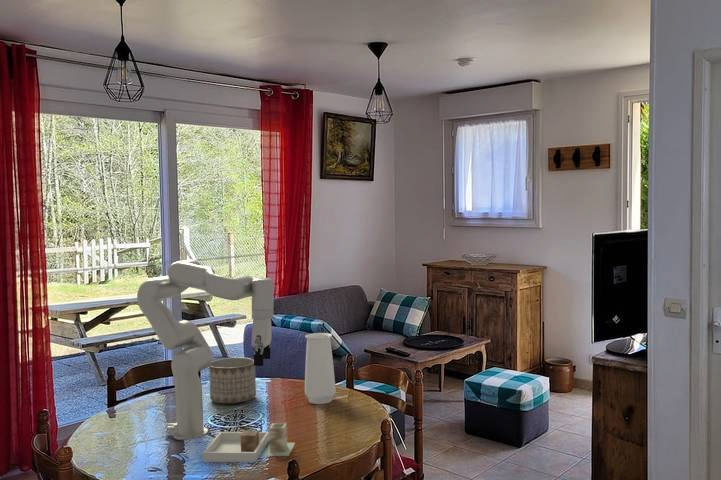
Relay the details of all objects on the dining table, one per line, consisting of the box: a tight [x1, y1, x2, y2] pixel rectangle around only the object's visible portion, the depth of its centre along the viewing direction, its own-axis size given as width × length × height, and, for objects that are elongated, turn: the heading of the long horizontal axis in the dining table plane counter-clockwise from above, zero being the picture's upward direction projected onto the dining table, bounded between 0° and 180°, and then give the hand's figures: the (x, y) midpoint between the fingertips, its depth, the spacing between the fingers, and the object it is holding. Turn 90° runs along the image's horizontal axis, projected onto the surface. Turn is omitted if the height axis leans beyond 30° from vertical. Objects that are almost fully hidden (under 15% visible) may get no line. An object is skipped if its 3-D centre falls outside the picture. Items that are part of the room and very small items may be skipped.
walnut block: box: [240, 429, 260, 452], centre depth 220 cm, size 5×5×6 cm
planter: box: [208, 356, 257, 405], centre depth 281 cm, size 19×19×16 cm
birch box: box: [268, 422, 288, 452], centre depth 221 cm, size 5×5×8 cm
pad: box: [261, 442, 296, 457], centre depth 221 cm, size 9×12×1 cm
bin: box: [201, 431, 270, 463], centre depth 221 cm, size 18×20×4 cm
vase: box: [304, 332, 336, 405], centre depth 277 cm, size 13×13×28 cm
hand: (262, 362), depth 228 cm, fingers open, 9 cm apart
